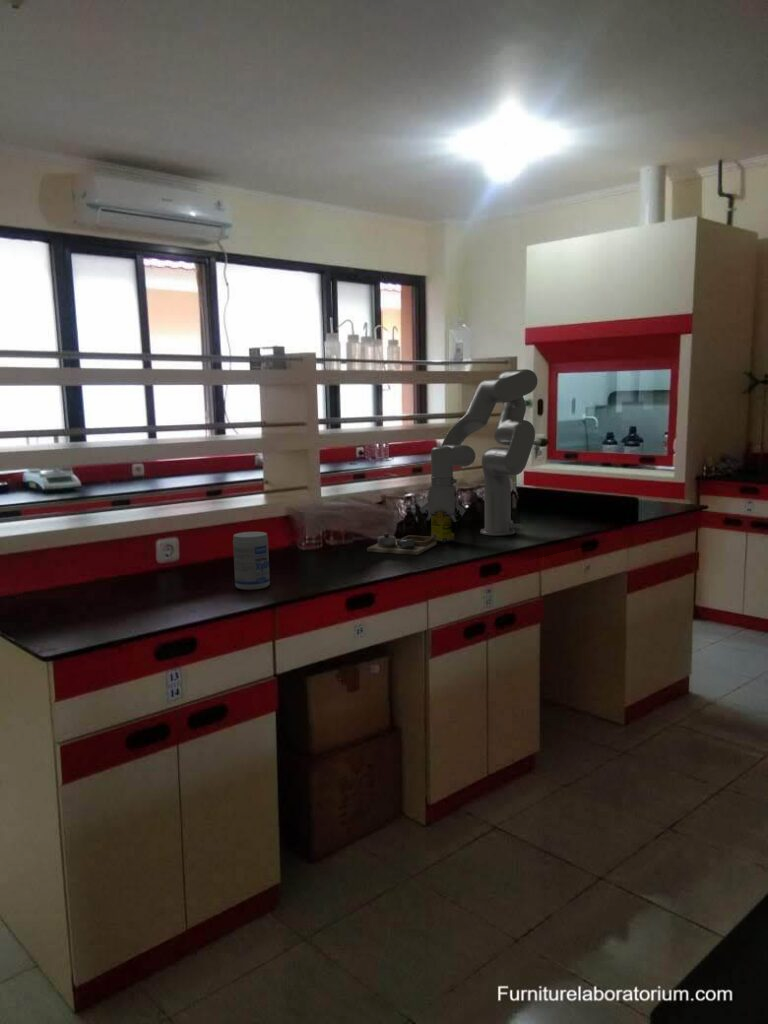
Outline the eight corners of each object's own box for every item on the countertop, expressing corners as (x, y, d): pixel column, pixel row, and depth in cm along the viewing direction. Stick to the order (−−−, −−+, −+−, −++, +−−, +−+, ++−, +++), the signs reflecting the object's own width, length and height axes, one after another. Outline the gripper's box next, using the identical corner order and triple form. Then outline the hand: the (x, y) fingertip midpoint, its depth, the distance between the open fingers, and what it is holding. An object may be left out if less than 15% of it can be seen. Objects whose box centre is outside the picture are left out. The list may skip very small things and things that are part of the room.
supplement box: (442, 543, 271) (442, 512, 269) (430, 541, 275) (430, 510, 274) (454, 541, 274) (454, 510, 273) (443, 539, 279) (442, 508, 277)
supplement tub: (263, 591, 210) (261, 537, 208) (230, 590, 212) (227, 537, 209) (274, 582, 220) (272, 531, 217) (242, 582, 221) (239, 530, 219)
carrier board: (436, 544, 269) (436, 529, 268) (417, 554, 253) (417, 538, 252) (388, 541, 276) (388, 526, 275) (367, 551, 260) (366, 535, 259)
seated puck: (416, 546, 260) (416, 539, 260) (411, 549, 256) (411, 542, 255) (402, 545, 262) (402, 538, 262) (397, 548, 258) (396, 541, 257)
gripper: (469, 481, 272) (469, 531, 274) (422, 480, 279) (423, 528, 281) (462, 484, 265) (463, 535, 267) (414, 482, 272) (415, 532, 274)
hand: (442, 531), depth 274 cm, fingers closed on supplement box, 7 cm apart
